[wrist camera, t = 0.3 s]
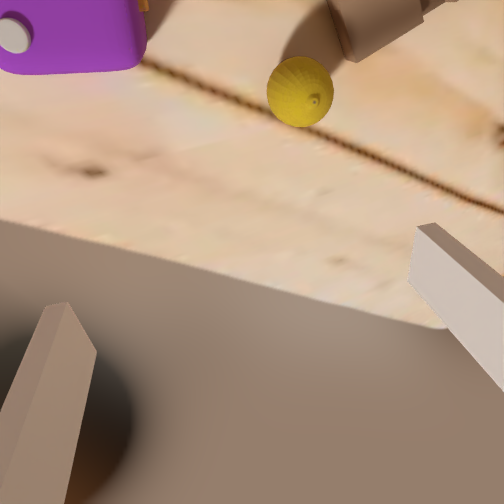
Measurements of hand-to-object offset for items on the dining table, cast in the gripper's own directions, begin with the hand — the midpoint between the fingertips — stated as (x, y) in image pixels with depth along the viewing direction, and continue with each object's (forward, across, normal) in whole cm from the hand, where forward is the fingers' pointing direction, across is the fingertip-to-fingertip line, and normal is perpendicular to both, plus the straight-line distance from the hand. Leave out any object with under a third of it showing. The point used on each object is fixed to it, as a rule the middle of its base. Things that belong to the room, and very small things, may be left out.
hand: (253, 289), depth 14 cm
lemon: (+26, +9, +2) cm, 28 cm away
